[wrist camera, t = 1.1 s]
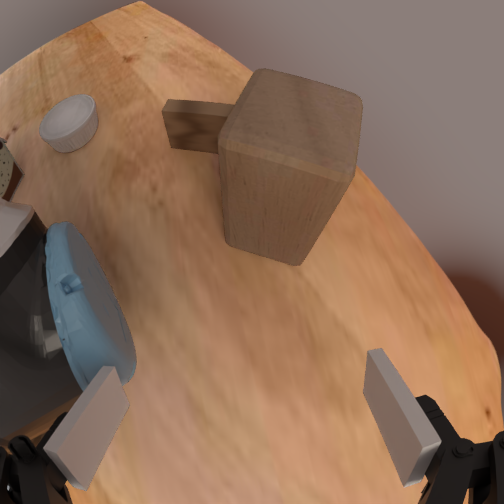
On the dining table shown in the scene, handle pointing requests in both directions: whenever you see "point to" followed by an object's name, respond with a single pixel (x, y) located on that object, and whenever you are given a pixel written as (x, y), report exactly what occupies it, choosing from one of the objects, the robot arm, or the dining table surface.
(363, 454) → the dining table surface
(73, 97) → the ramekin
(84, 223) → the dining table surface
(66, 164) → the dining table surface
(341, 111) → the block
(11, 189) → the food container
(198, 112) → the board
